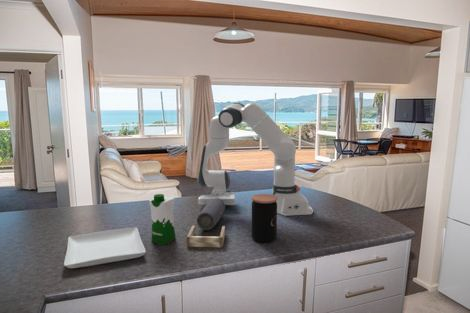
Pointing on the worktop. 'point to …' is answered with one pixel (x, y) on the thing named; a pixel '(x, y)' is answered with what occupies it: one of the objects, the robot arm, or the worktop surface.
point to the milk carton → (162, 219)
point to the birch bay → (205, 239)
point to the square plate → (103, 247)
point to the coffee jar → (264, 218)
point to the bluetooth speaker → (211, 214)
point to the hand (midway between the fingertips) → (215, 204)
